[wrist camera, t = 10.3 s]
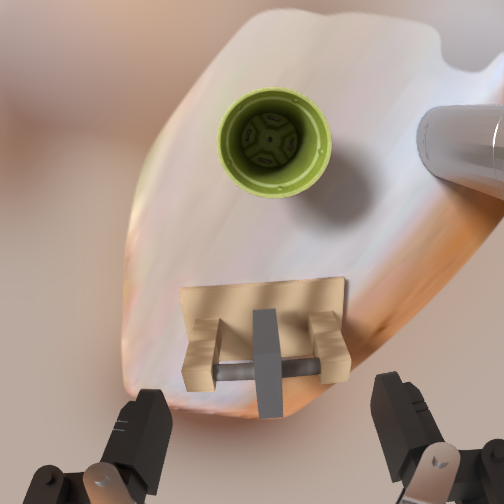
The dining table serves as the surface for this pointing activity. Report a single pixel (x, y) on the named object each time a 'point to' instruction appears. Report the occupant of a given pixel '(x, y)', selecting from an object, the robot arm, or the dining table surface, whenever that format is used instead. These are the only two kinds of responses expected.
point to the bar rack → (241, 330)
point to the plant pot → (274, 142)
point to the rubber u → (267, 363)
